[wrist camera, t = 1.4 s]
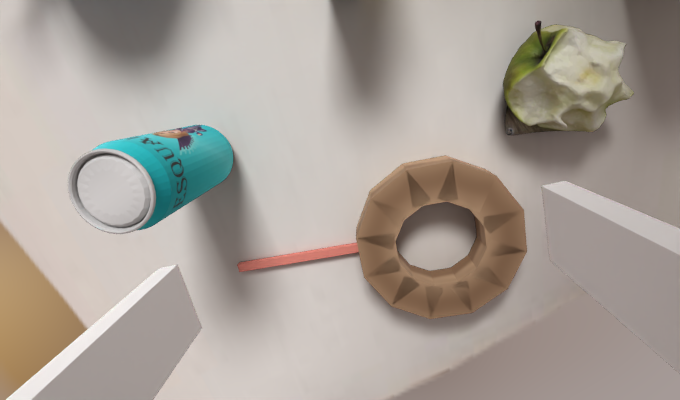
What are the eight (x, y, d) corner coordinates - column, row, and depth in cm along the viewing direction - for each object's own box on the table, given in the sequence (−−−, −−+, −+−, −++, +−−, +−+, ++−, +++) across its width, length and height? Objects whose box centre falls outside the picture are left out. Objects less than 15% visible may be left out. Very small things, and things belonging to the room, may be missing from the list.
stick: (239, 262, 39) (237, 265, 39) (357, 242, 38) (357, 244, 37) (241, 269, 40) (239, 272, 39) (359, 249, 38) (359, 252, 38)
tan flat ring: (345, 174, 36) (344, 181, 33) (505, 144, 35) (518, 148, 32) (373, 310, 40) (374, 327, 37) (518, 288, 38) (531, 304, 36)
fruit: (474, 59, 34) (511, 24, 26) (575, 26, 34) (645, -21, 26) (503, 157, 35) (548, 151, 27) (603, 125, 34) (680, 109, 26)
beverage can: (236, 123, 35) (151, 144, 21) (241, 183, 37) (164, 240, 23) (177, 123, 36) (52, 143, 21) (184, 182, 37) (72, 238, 23)
